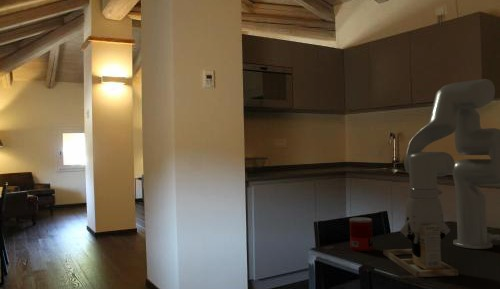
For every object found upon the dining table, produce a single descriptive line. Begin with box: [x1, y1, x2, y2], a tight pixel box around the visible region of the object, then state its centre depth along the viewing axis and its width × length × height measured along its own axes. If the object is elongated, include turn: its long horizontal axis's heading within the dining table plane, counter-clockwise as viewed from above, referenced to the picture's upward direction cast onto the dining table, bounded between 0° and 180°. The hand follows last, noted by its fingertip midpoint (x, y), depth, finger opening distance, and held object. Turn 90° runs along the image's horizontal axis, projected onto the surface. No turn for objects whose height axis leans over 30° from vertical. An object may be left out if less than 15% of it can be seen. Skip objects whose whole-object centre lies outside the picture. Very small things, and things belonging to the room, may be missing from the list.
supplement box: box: [412, 224, 442, 270], centre depth 117 cm, size 8×5×13 cm, turn 5°
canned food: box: [349, 216, 374, 252], centre depth 143 cm, size 8×8×11 cm
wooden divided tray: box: [382, 248, 459, 278], centre depth 123 cm, size 12×25×2 cm, turn 2°
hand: (426, 254), depth 117 cm, fingers closed on supplement box, 4 cm apart
